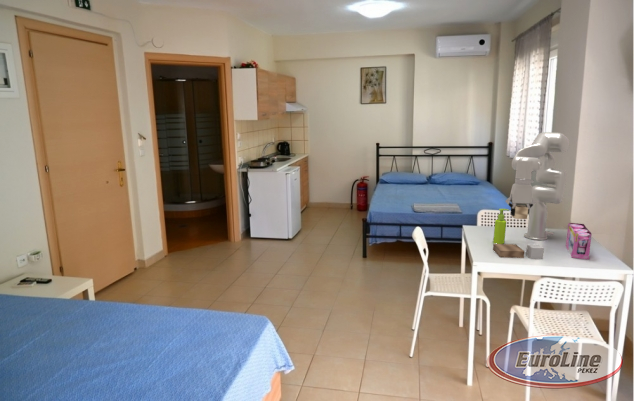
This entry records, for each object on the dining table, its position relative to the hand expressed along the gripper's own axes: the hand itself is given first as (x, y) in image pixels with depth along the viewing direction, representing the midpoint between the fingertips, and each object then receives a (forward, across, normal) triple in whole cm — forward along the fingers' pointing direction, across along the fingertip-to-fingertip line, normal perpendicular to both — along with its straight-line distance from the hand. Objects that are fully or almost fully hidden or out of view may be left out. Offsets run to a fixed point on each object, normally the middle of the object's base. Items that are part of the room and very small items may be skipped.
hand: (519, 215), depth 232 cm
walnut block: (+21, +5, +3) cm, 22 cm away
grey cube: (+20, -7, +7) cm, 23 cm away
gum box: (+20, -33, -3) cm, 39 cm away
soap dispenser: (+20, +3, -17) cm, 26 cm away
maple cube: (+1, 0, 0) cm, 1 cm away
